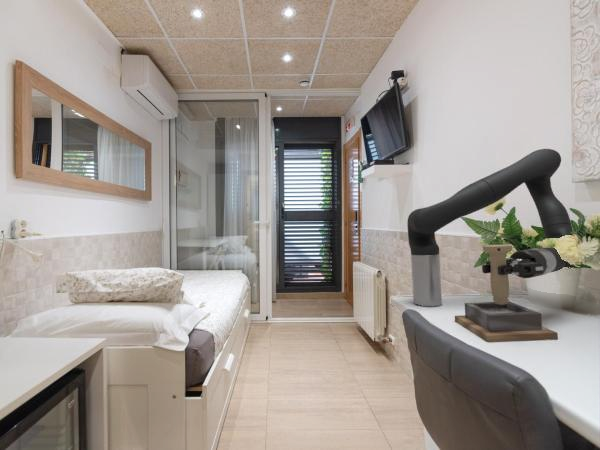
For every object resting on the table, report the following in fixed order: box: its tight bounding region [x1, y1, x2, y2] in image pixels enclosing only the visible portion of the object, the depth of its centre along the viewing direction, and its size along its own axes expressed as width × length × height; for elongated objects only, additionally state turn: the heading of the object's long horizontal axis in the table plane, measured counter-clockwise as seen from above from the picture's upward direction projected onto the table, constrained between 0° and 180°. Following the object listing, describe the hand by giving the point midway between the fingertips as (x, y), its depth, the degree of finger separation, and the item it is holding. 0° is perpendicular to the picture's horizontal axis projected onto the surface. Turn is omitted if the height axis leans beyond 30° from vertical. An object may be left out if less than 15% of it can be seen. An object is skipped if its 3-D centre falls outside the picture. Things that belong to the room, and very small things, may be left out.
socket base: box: [454, 301, 559, 343], centre depth 80 cm, size 16×16×6 cm
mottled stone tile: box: [484, 308, 516, 313], centre depth 80 cm, size 8×8×1 cm
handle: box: [482, 244, 513, 305], centre depth 80 cm, size 5×6×15 cm
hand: (491, 270), depth 79 cm, fingers closed on handle, 3 cm apart
